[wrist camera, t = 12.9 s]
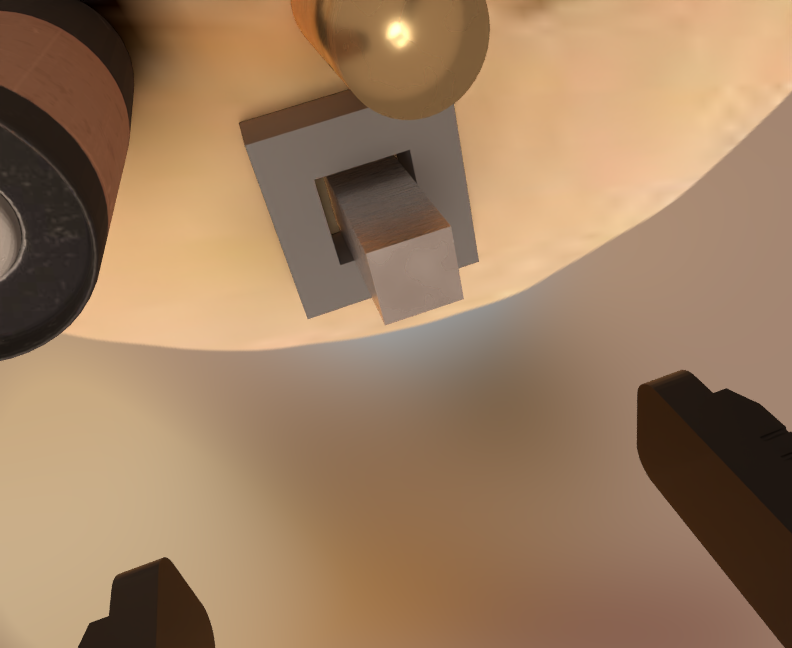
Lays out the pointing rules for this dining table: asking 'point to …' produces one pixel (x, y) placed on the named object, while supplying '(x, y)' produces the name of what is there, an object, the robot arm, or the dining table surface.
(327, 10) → the round bit
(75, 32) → the travel mug
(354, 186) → the square bit
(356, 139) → the socket block
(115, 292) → the dining table surface
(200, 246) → the dining table surface
